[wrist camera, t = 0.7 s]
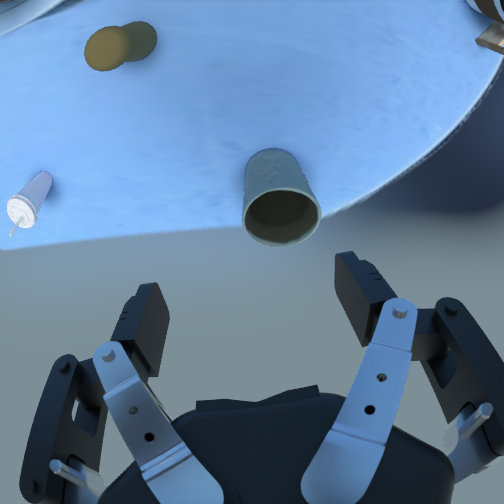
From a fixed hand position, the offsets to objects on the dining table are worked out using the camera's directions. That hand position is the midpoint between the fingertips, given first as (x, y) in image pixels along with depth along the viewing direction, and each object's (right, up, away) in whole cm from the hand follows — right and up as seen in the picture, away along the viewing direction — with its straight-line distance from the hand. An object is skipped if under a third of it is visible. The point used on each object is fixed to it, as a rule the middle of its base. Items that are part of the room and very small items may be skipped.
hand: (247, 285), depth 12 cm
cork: (-15, +29, +13) cm, 35 cm away
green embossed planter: (+3, +14, +31) cm, 34 cm away
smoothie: (-37, +15, +25) cm, 47 cm away
